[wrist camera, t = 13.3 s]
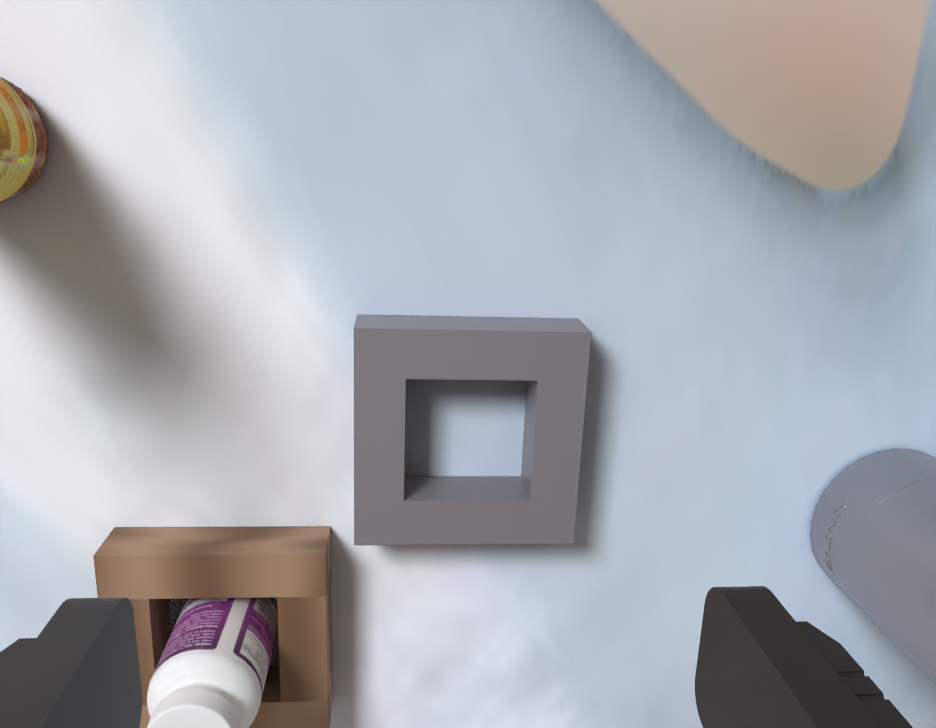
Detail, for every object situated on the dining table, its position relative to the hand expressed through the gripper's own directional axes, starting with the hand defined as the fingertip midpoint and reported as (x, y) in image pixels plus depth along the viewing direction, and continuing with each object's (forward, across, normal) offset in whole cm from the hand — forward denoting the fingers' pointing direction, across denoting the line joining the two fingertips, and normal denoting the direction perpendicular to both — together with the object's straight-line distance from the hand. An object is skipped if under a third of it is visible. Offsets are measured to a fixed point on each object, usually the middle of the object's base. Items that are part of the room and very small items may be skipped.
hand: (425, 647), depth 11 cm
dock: (+30, +10, +20) cm, 37 cm away
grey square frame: (+30, -3, +8) cm, 31 cm away
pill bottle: (+30, +10, +20) cm, 37 cm away
